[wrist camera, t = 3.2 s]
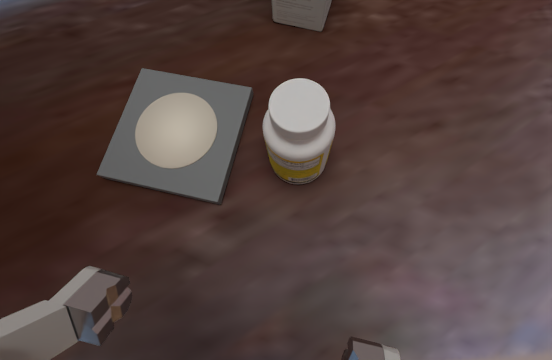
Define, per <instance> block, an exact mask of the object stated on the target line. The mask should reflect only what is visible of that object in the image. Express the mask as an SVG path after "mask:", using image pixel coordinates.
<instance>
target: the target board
mask: <svg viewBox="0 0 552 360" xmlns="http://www.w3.org/2000/svg"><path fill="white" fill-rule="evenodd" d="M252 97H253V91H252V88H251V87H245V86H239V85H234V84H228V83H222V82H217V81H211V80H205V79H200V78H194V77H188V76H183V75H177V74H171V73H166V72H160V71H155V70H149V69H143V68H142V69H141V72H140V74H139V76H138V79H137V81H136V83H135V86H134V88H133V90H132V93H131V95H130V97H129V100H128V102H127V104H126V107H125V109H124V111H123V114H122V116H121V118H120V121H119V123H118V125H117V128H116V130H115V133H114V135H113V137H112V140H111V142H110V144H109V147H108V149H107V151H106V154H105V156H104V158H103V161H102V163H101V165H100V168H99V170H98V172H97V175H99V176H101V177H103V178H105V179H110V180H114V181H118V182H123V183H127V184H132V185H136V186H140V187H145V188H149V189H153V190H158V191H162V192H167V193H171V194H175V195H180V196H184V197H188V198H193V199H197V200H202V201H206V202H210V203H215V204H219V205H221V203H222V199H223V196H224V192H225V189H226V186H227V182H228V179H229V175H230V172H231V169H232V165H233V162H234V159H235V155H236V152H237V148H238V145H239V142H240V138H241V135H242V131H243V128H244V125H245V121H246V118H247V114H248V111H249V108H250V104H251V101H252Z"/></svg>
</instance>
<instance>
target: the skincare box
mask: <svg viewBox="0 0 552 360" xmlns="http://www.w3.org/2000/svg"><path fill="white" fill-rule="evenodd" d="M331 1H332V0H272V12H273V21H275V22H277V23H282V24H287V25H292V26H296V27H301V28H305V29H310V30H315V31H322V29H323V27H324V24H325V21H326V18H327V15H328V11H329V8H330V5H331Z"/></svg>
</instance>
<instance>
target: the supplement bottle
mask: <svg viewBox="0 0 552 360" xmlns="http://www.w3.org/2000/svg"><path fill="white" fill-rule="evenodd" d="M268 107H269V109H268V110H267V112H266V114H265V117H264V120H263V135H264V139H265V143H266V147H267V151H268V155H269V159H270V163H271V166H272V168H273V170H274V172H275V173H276V174H277V176H278V177H280V178H281V179H282V180H284V181H286V182H288V183H291V184H305V183H309V182H311V181H313V180H315V179H316V178H317V177H318V176H319V175H320V174H321V173H322V171H323V170H324V168H325V165H326V162H327V159H328V156H329V152H330V148H331V145H332V142H333V138H334V134H335V119H334V115H333V113H332V111H331V109H330V100H329V97H328V95H327V93H326V91H325V90H324V89H323V88H322V87H321V86H320V85H319V84H317V83H316V82H314V81H311V80H308V79H302V78H298V79H291V80H288V81H286V82H284V83H282V84H281V85H279V86H278V87H277V88H276V89H275V90H274V91H273V93H272V95H271V97H270V100H269V106H268Z"/></svg>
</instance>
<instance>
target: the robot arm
mask: <svg viewBox="0 0 552 360" xmlns="http://www.w3.org/2000/svg"><path fill="white" fill-rule="evenodd" d="M129 284H130V281H129V277H127V276H124V275H120V274H117V273H113V272H110V271H106V270H103V269H100V268H96V267H92V266H88V267H86V268H84V269H83V270H82V271H80V272H79V273H78V274H77V275H76V276H75V277H74V278H73V279H72V280H71V281H70V282H69V283H67V284H66V285H65V286H64V287H63V288H62V289H61V290H60V291H59V292H58V293H57V294H56V295H54V296H53V297H52V298H51V299H50V300H49V301H46V300H44V301H41V302H39V303H37V304H34V305H32V306H30V307H27V308H25V309H23V310H20V311H18V312H16V313H13V314H11V315H9V316H6V317H4V318H2V319H0V360H50V359H52V358H53V357H55V356H56V355H58V354H60V353H61V352H63V351H64V350H66V349H67V348H69V347H70V346H72V345H74V344H75V343H77V342H78V340H80V341H83V342H87V343H91V344H94V345H98V346H101V345H102V344H103V342H104V341H105V340H106V338H107V337H108V336H109V334H110V333H111V332H112V330H113V329H114V322H115V321H117V320H119V319H121V318H122V317H123V316H124V315H125V313H126V312H127V311H128V308H129V306H130V304H131V301H132V292H131V290H130V289H129V288H128V287H127V286H128V285H129ZM341 360H401V359H400V354H399V351H398V350H397V349H396V348H393V347H388V346H384V345H381V344H379V343H375V342H371V341H367V340H363V339H359V338H355V337H350V338H349V340H348V349H346V350H344V353H343V355H342V359H341Z"/></svg>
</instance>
